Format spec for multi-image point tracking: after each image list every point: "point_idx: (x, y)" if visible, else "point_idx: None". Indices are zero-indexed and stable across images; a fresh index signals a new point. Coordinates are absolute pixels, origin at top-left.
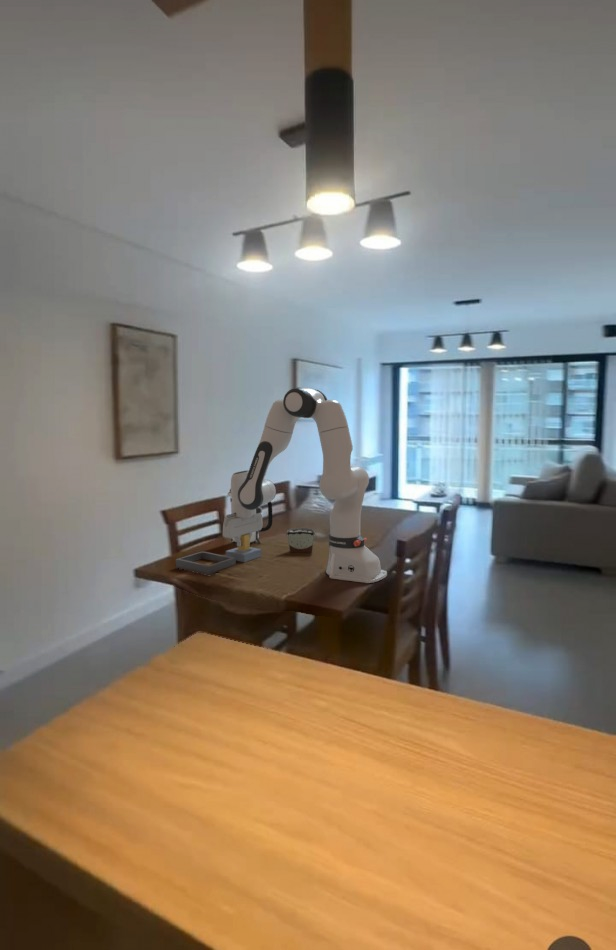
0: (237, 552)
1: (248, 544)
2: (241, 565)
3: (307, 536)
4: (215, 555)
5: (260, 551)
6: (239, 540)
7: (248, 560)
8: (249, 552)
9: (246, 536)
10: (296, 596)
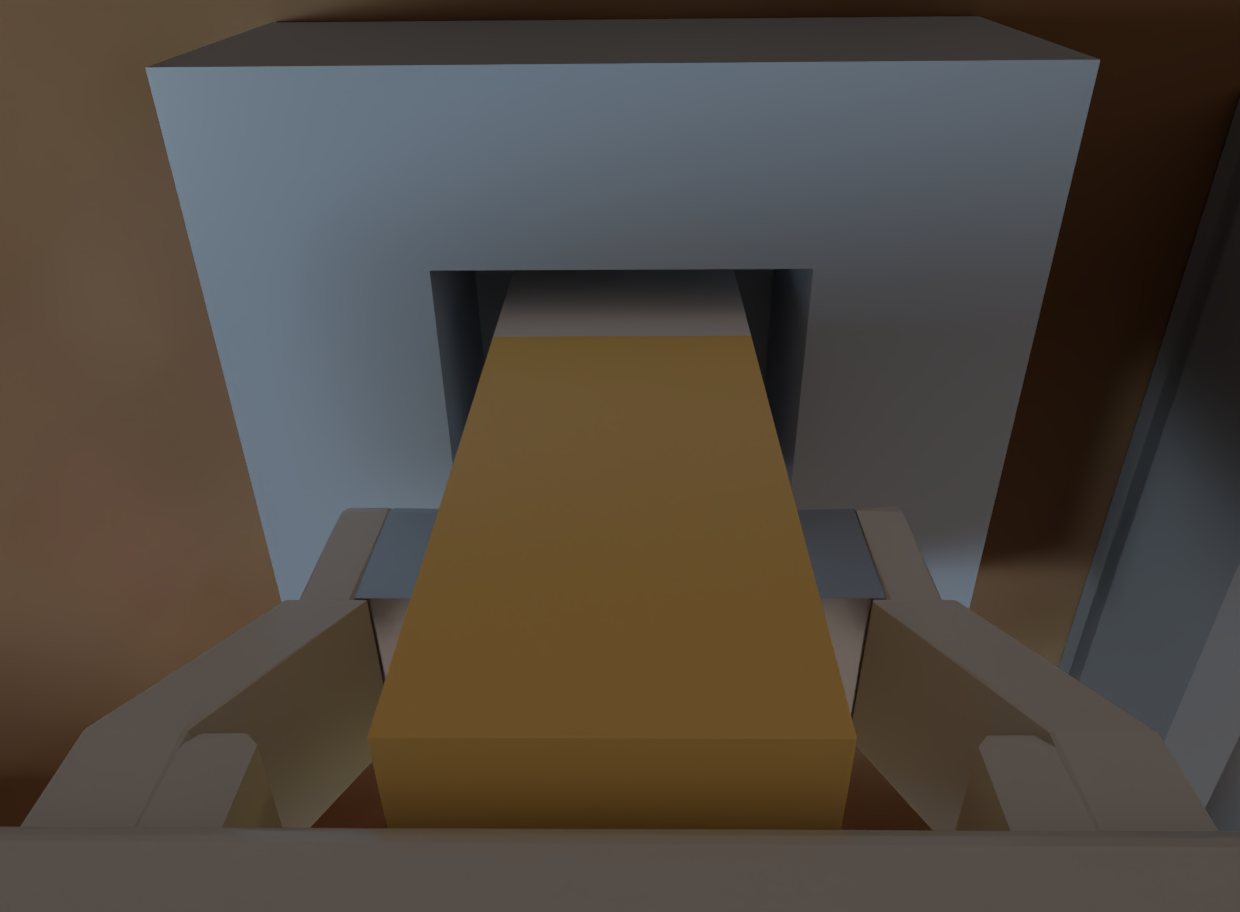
0: (934, 435)
1: (537, 419)
2: (1070, 44)
3: None
4: (1236, 724)
5: (208, 57)
6: (1026, 663)
7: (831, 25)
8: (753, 112)
9: (651, 673)
10: None
